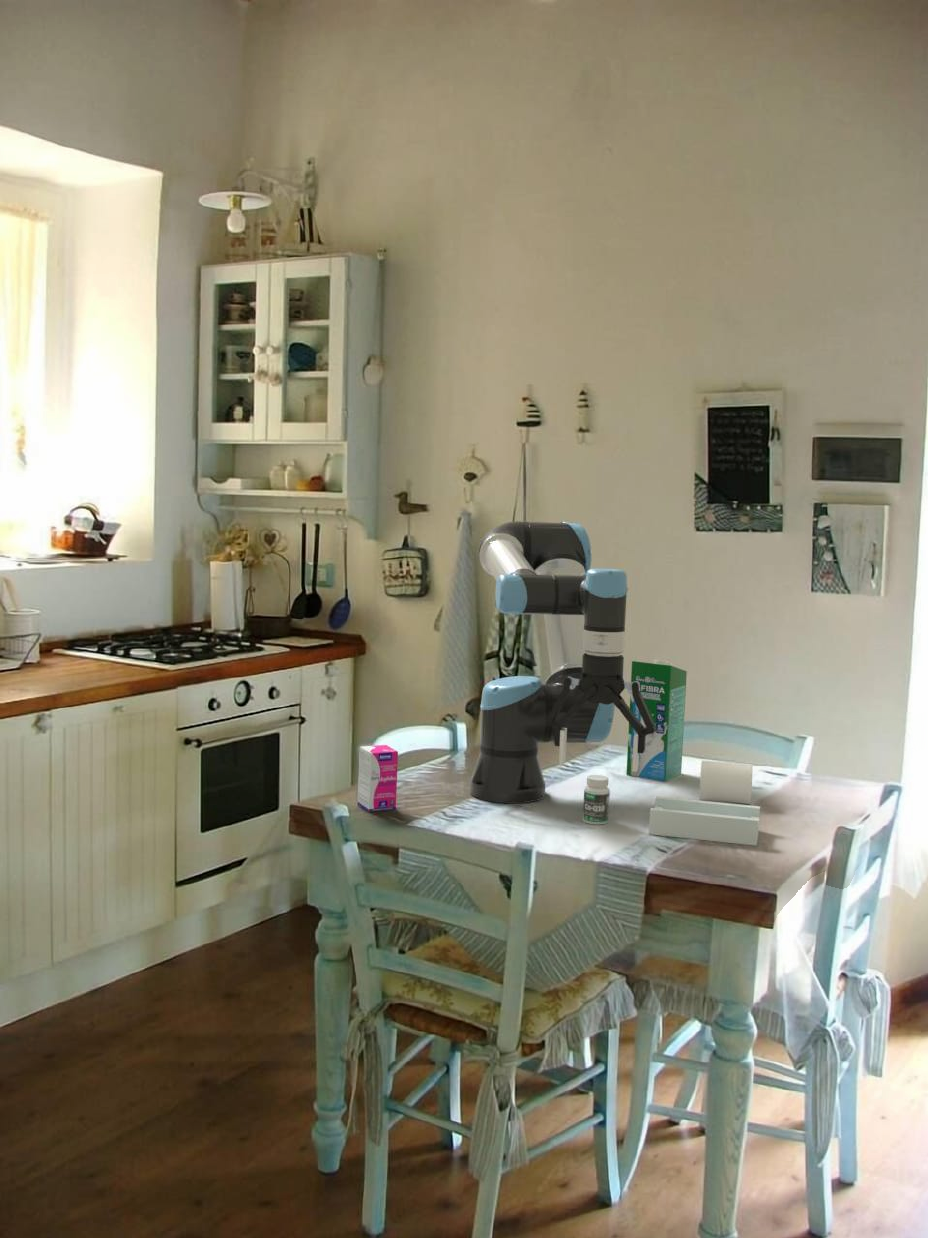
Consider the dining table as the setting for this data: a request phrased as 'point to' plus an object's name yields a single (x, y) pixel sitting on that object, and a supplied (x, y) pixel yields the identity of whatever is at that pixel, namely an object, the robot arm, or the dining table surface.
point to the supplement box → (377, 778)
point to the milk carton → (659, 719)
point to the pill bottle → (596, 800)
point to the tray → (705, 820)
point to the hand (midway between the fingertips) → (598, 767)
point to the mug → (726, 782)
